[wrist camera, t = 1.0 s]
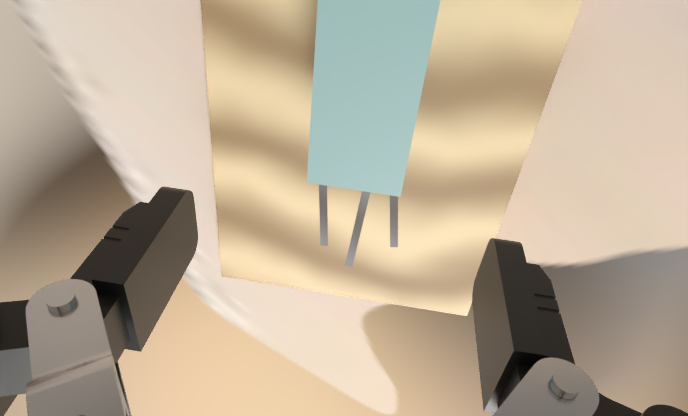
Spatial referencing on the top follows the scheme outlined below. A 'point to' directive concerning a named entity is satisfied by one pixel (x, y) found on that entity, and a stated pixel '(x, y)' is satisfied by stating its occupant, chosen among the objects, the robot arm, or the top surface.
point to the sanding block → (367, 91)
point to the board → (423, 163)
